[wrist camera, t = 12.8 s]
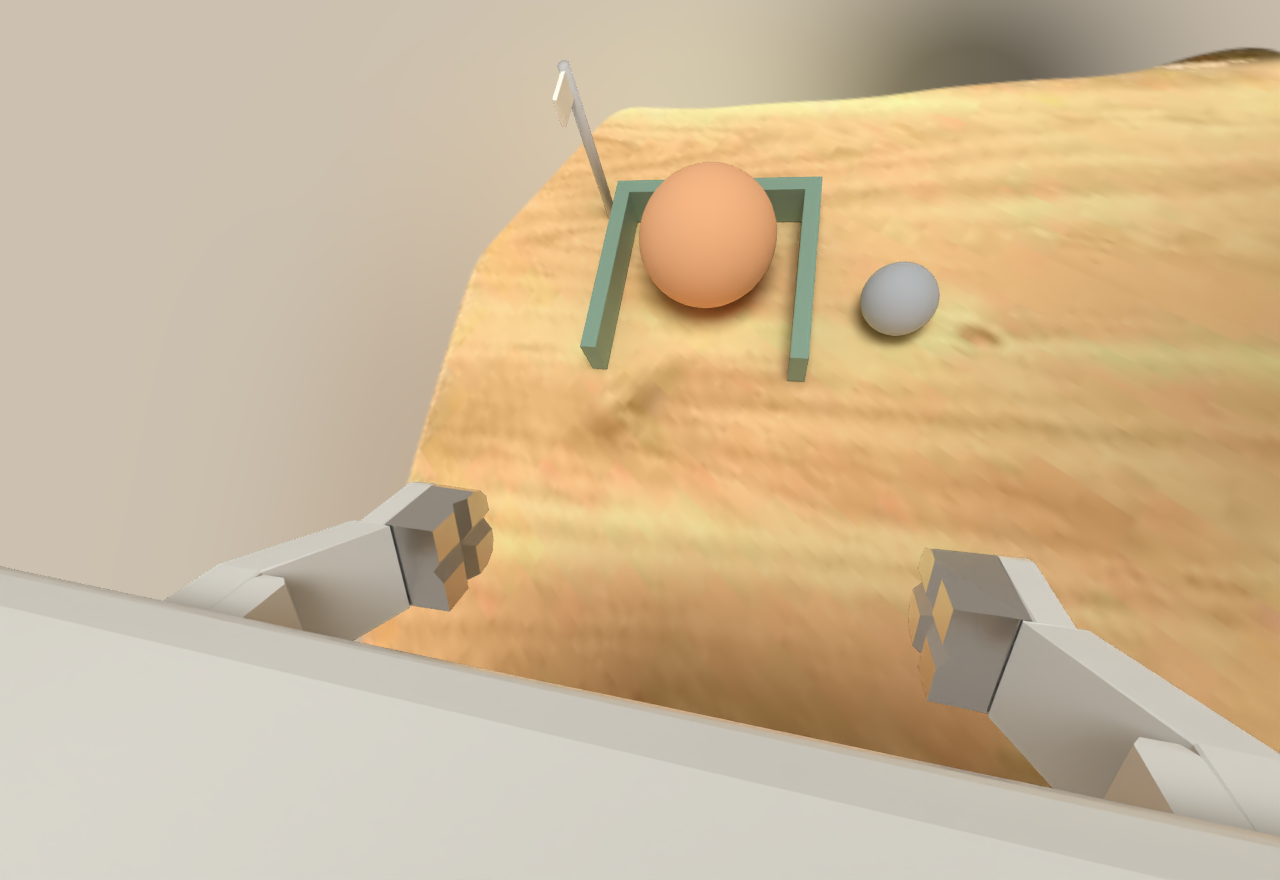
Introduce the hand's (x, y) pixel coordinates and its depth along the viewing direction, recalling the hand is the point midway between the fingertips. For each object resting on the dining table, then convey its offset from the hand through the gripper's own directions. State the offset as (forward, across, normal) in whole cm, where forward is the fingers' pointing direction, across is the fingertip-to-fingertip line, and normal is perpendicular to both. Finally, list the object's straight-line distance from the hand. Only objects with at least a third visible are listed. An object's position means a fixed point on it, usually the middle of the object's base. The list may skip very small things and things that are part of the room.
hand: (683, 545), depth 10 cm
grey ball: (+34, -9, +1) cm, 35 cm away
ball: (+34, +4, -2) cm, 35 cm away
